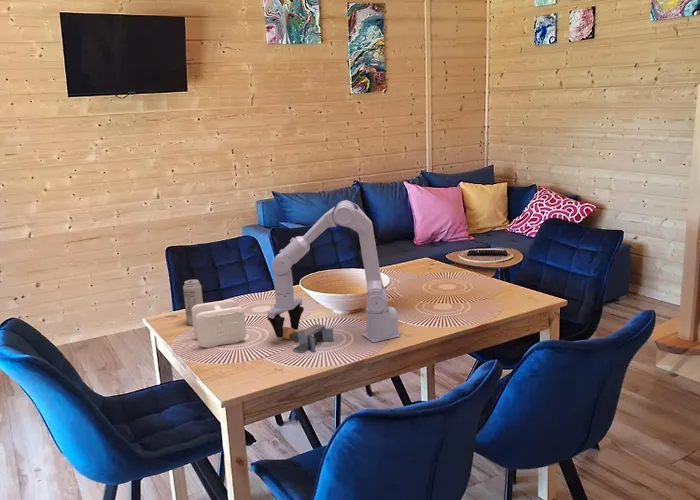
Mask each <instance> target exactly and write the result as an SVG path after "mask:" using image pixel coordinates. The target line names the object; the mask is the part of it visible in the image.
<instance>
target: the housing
mask: <svg viewBox="0 0 700 500" xmlns="http://www.w3.org/2000/svg"><path fill="white" fill-rule="evenodd" d="M297 333H298V337H299V342H298V346H296V347H294V348H292V352H294V353H300V354H303V353H305V352H307V351H310V352H311V353H316V344H315V339H314V338H313V337H316V341H319V342H322V343H326V342H327V343H328V342H334V340H335V339H334V328H333V327H332V328H331V327H329V328H328V327H326V325H324V324H320V323H314V324H313V325H311V326H309V327H307V328H305V329H304V330H301V331H299V332H297ZM312 336H313V337H312Z"/></svg>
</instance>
